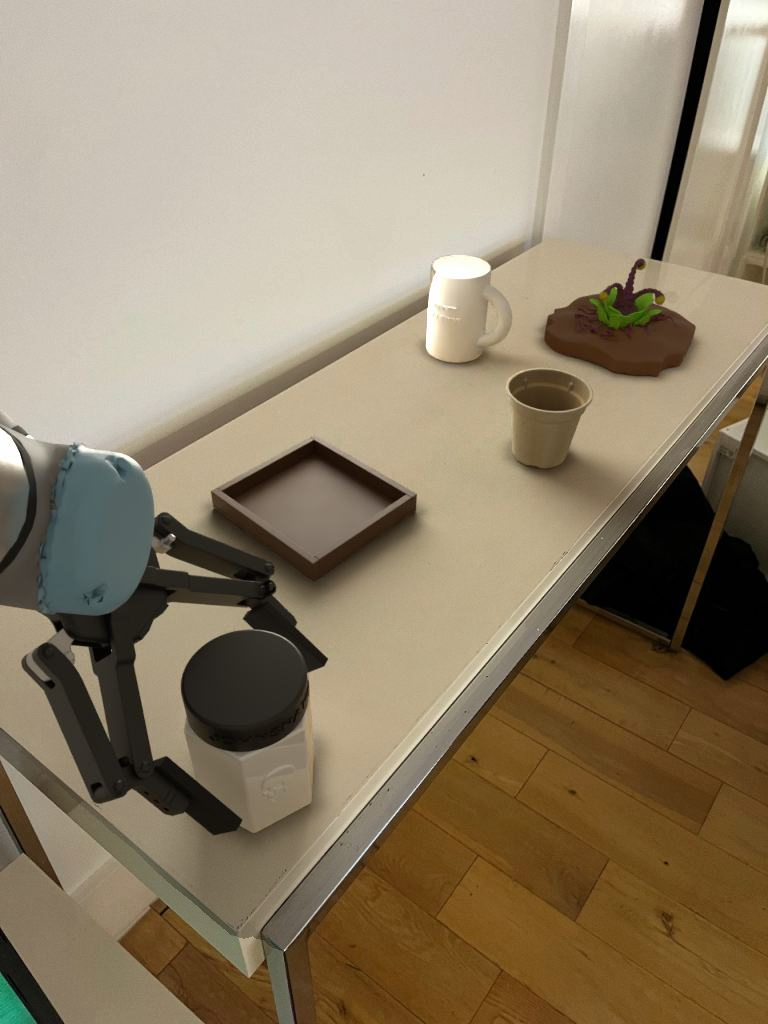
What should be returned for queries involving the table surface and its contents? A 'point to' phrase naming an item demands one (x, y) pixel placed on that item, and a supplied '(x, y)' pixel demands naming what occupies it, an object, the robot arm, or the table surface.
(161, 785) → the robot arm
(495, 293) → the mug
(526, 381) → the flower pot
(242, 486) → the tray
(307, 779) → the jar
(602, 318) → the plant
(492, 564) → the table surface
